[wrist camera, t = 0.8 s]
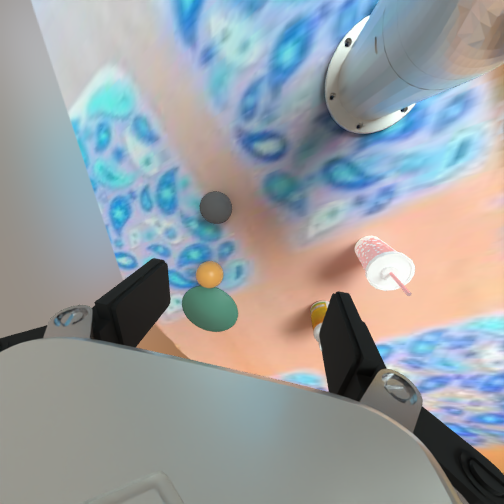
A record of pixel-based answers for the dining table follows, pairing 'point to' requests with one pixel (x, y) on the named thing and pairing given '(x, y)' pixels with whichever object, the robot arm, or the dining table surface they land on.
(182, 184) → the dining table surface
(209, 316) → the green ellipsoid
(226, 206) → the charcoal cue ball
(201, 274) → the orange ball
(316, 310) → the supplement bottle
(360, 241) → the beverage cup
